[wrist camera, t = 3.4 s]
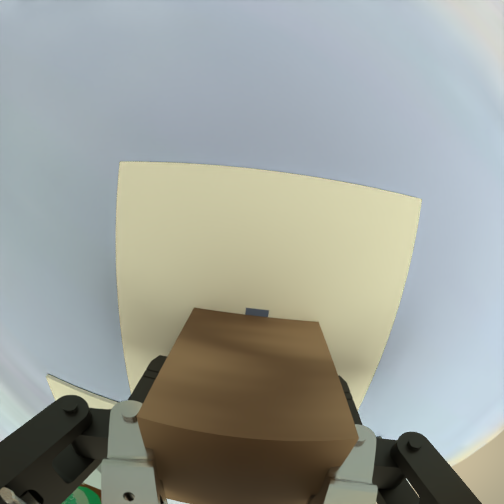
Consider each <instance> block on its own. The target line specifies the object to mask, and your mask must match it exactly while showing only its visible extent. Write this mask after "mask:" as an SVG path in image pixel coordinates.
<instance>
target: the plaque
mask: <svg viewBox="0 0 504 504" xmlns="http://www.w3.org/2000/svg"><path fill="white" fill-rule="evenodd" d="M46 378H47V381H48V384H49V386H50V389H51V391H52V394H53V396H54V398H55V401H56V400H57V399H59V398H60V397H62V396H65V395H77V396H80V397H82V398H83V399H84V400H85V401H86V402H87V403H88V406H89V408H98V409H112V408H113V406H114V405H116V404H117V403H119V402H116V401H113V400H110V399H107V398H104V397H101V396H99V395H96V394H93V393H91V392H88V391H85V390H83V389H80V388H78V387H76V386H73V385H71V384H69V383H66V382H64V381H62V380H60V379H57V378H55V377H53V376H51V375H49V374H48V375H47V376H46Z"/></svg>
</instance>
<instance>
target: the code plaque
mask: <svg viewBox="0 0 504 504" xmlns="http://www.w3.org/2000/svg"><path fill="white" fill-rule="evenodd" d="M421 202H422V199H419V198H415V197H411V196H407V195H402V194H398V193H394V192H390V191H385V190H381V189H376V188H371V187H367V186H362V185H357V184H351V183H346V182H341V181H335V180H329V179H324V178H318V177H311V176H305V175H298V174H291V173H284V172H276V171H268V170H260V169H251V168H241V167H230V166H219V165H205V164H190V163H169V162H120V164H119V175H118V188H117V205H116V276H117V294H118V307H119V318H120V327H121V336H122V343H123V351H124V357H125V364H126V370H127V375H128V381H129V386H130V391H131V394H132V392H133V390H134V389H135V387H136V385H137V384H138V382H139V380H140V379H141V377H142V376H143V374H144V372H145V370H146V368H147V367H148V365H149V363H150V362H151V361H152V360H153V359H155V358H156V357H158V356H159V355H162V356H168V355H169V353H170V351H171V349H172V347H173V345H174V344H175V342H176V340H177V338H178V336H179V334H180V332H181V331H182V329H183V327H184V325H185V323H186V321H187V319H188V318H189V316H190V314H191V312H192V310H193V309H194V308H200V309H207V310H214V311H221V312H229V313H236V314H244V315H253V316H261V317H271V318H280V319H291V320H302V321H314V322H319V324H320V327H321V330H322V332H323V335H324V338H325V340H326V343H327V346H328V349H329V351H330V354H331V357H332V360H333V362H334V365H335V368H336V371H337V374H338V375H340V376H341V377H342V378H343V379H344V380H345V381H346V382H347V384H348V387H349V389H350V393H351V395H352V397H353V400H354V403H355V406H356V408H357V411H358V409H359V407H360V405H361V403H362V400H363V398H364V396H365V394H366V392H367V390H368V387H369V385H370V383H371V381H372V378H373V376H374V374H375V371H376V369H377V366H378V364H379V361H380V359H381V356H382V354H383V351H384V348H385V346H386V343H387V340H388V337H389V335H390V332H391V329H392V326H393V323H394V320H395V317H396V313H397V310H398V307H399V304H400V300H401V297H402V293H403V290H404V286H405V282H406V278H407V274H408V270H409V266H410V262H411V257H412V253H413V248H414V243H415V238H416V233H417V227H418V221H419V215H420V209H421Z"/></svg>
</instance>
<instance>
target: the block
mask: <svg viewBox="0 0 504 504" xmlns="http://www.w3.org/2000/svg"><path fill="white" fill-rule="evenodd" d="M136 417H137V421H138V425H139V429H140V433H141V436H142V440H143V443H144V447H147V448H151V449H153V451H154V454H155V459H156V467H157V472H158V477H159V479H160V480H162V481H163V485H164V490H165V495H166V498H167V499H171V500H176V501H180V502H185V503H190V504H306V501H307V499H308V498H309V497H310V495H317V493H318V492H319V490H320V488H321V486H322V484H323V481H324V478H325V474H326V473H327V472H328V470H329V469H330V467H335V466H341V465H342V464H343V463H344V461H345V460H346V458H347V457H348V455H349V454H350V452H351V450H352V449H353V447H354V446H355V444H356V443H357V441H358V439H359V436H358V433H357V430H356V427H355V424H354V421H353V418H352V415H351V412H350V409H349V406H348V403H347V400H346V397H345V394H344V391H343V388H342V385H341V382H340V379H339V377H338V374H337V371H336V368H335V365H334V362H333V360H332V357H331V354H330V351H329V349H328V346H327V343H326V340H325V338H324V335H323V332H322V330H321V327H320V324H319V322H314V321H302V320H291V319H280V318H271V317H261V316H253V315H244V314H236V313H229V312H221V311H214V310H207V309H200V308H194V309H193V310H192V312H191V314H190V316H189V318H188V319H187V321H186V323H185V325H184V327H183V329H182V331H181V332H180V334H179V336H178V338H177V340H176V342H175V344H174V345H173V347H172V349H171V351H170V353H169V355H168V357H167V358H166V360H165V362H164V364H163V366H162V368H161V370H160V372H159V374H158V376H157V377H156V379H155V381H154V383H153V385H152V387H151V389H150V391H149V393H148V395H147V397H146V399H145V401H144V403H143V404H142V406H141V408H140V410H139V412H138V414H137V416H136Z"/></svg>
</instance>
